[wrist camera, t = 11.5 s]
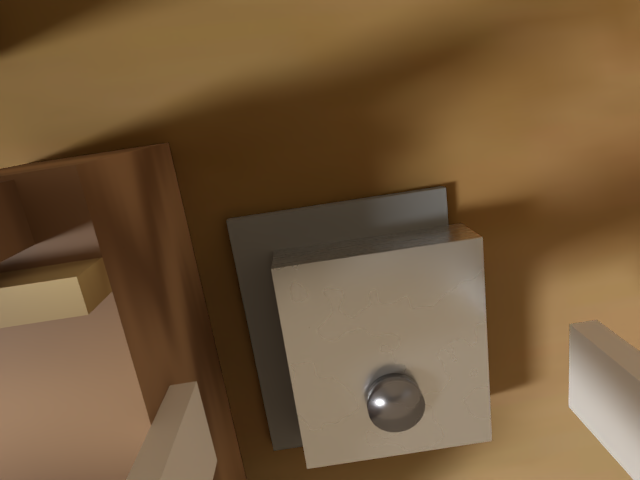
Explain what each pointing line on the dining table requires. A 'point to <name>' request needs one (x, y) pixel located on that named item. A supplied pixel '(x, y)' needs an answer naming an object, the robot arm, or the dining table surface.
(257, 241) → the rubber mat
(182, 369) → the body
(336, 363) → the lever cap
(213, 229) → the dining table surface
